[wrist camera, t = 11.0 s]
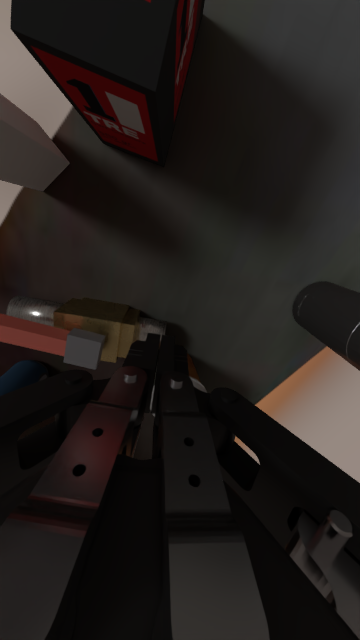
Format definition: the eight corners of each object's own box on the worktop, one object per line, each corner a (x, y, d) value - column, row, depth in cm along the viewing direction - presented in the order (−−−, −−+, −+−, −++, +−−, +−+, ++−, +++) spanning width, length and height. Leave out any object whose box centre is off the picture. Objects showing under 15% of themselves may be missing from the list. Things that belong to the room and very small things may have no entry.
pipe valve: (167, 312, 42) (167, 334, 33) (161, 345, 44) (159, 374, 36) (24, 286, 39) (-18, 303, 30) (26, 323, 42) (-12, 349, 33)
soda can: (7, 364, 45) (-46, 410, 34) (37, 351, 44) (-8, 394, 33) (30, 390, 47) (-13, 440, 36) (59, 378, 46) (24, 426, 35)
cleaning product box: (130, -23, 26) (33, -618, 8) (202, 14, 28) (267, -420, 9) (103, 143, 32) (10, 28, 14) (163, 166, 33) (155, 91, 15)
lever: (106, 333, 33) (101, 342, 30) (101, 359, 35) (95, 369, 32) (-32, 298, 30) (-51, 305, 28) (-32, 327, 32) (-49, 336, 29)
